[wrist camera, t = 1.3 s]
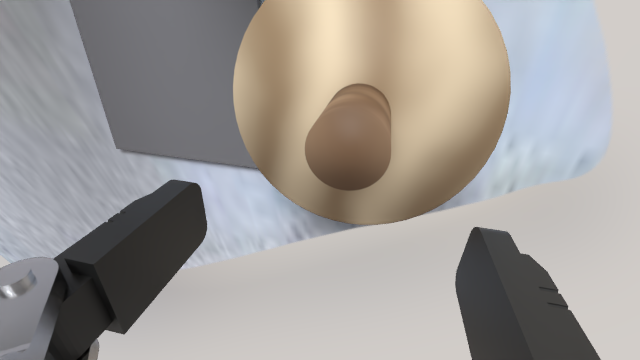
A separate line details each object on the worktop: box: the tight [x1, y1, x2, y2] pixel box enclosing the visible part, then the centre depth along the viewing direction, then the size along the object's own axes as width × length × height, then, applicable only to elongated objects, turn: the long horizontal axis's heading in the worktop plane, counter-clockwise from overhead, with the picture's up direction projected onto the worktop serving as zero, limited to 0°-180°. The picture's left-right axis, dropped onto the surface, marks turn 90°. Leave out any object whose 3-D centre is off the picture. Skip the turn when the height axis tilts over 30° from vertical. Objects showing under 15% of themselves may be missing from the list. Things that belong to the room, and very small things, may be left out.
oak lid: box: [233, 0, 511, 225], centre depth 17 cm, size 17×17×7 cm
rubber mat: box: [70, 0, 260, 168], centre depth 29 cm, size 18×18×1 cm
